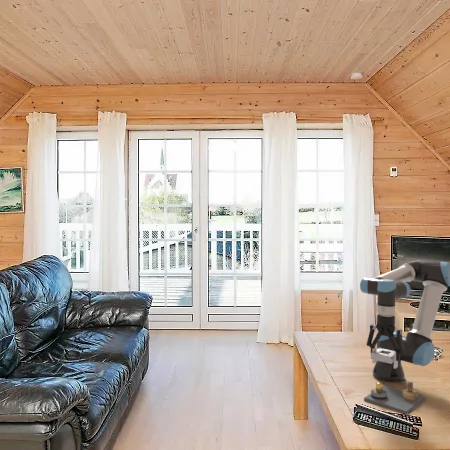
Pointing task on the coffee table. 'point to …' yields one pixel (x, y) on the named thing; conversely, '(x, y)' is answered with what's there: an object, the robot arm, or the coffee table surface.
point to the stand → (410, 392)
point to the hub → (379, 392)
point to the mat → (395, 400)
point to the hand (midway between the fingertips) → (384, 364)
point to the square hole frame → (383, 355)
